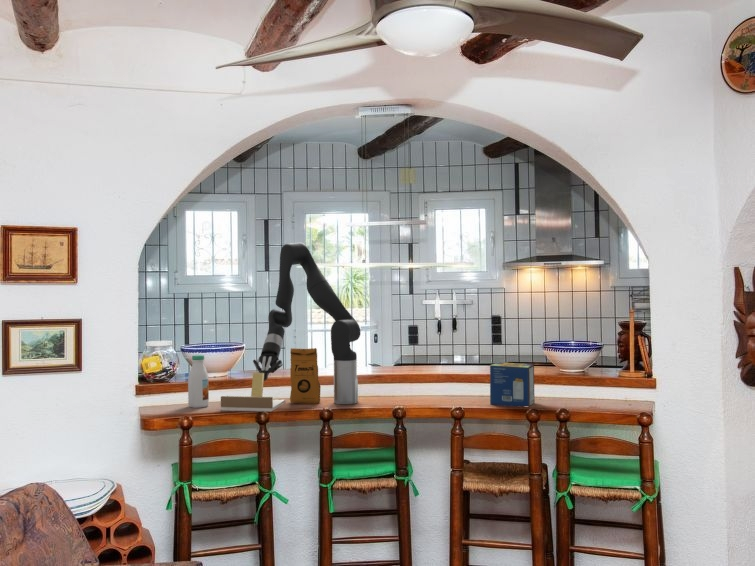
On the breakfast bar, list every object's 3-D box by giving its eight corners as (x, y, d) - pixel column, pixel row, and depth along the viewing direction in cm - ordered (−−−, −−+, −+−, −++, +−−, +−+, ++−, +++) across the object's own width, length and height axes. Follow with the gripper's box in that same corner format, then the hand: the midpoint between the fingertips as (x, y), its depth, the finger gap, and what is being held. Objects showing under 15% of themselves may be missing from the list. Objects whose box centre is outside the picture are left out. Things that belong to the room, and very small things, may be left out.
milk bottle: (196, 408, 251) (196, 356, 251) (184, 406, 256) (183, 355, 256) (212, 405, 258) (212, 355, 258) (200, 403, 262) (200, 353, 262)
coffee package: (318, 405, 257) (318, 349, 257) (287, 405, 258) (287, 349, 258) (322, 400, 267) (322, 346, 267) (292, 400, 268) (292, 346, 268)
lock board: (285, 402, 263) (285, 389, 263) (271, 411, 245) (271, 397, 245) (237, 401, 266) (237, 388, 266) (220, 410, 248) (220, 396, 248)
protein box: (496, 400, 266) (496, 362, 266) (534, 403, 259) (534, 363, 259) (489, 404, 256) (489, 365, 256) (528, 407, 249) (528, 367, 250)
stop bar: (262, 401, 259) (264, 373, 262) (261, 400, 257) (263, 372, 260) (251, 401, 259) (254, 373, 262) (250, 400, 258) (252, 372, 261)
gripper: (255, 341, 277) (245, 374, 265) (285, 341, 275) (276, 374, 263) (259, 352, 282) (249, 385, 270) (289, 352, 280) (280, 385, 268)
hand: (263, 379), depth 267 cm, fingers closed
